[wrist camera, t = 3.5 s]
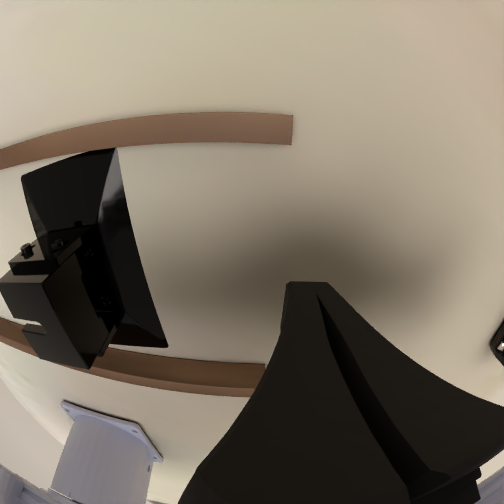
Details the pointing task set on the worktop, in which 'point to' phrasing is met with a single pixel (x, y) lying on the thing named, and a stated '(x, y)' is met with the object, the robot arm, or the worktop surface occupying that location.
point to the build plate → (80, 265)
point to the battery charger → (499, 345)
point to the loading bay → (143, 133)
